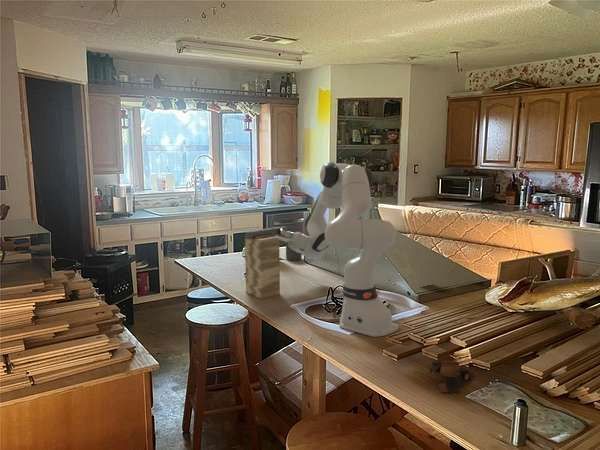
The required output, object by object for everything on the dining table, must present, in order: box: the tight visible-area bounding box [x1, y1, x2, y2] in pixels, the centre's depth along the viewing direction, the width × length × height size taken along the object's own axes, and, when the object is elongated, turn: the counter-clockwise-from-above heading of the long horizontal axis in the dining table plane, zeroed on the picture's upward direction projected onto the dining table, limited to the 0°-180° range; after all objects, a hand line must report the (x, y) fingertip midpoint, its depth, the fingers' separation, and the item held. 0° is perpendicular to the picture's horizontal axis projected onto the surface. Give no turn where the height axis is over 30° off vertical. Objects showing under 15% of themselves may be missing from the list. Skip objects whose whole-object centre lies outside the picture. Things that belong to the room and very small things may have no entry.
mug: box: [285, 242, 303, 262], centre depth 280 cm, size 14×9×12 cm
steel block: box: [244, 225, 288, 240], centre depth 213 cm, size 3×21×3 cm, turn 130°
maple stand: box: [244, 234, 281, 300], centre depth 214 cm, size 12×10×27 cm
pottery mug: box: [429, 360, 476, 394], centre depth 133 cm, size 12×9×8 cm
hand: (276, 230), depth 217 cm, fingers open, 4 cm apart
